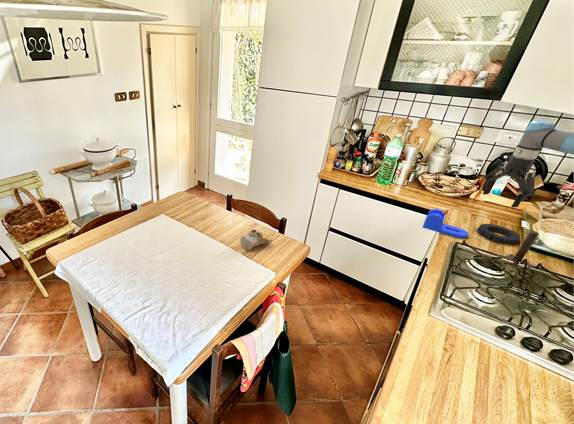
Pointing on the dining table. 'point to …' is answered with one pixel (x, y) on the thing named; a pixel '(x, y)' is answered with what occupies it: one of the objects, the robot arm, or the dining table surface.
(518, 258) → the peg stand
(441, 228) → the bracket
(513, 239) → the tape roll
